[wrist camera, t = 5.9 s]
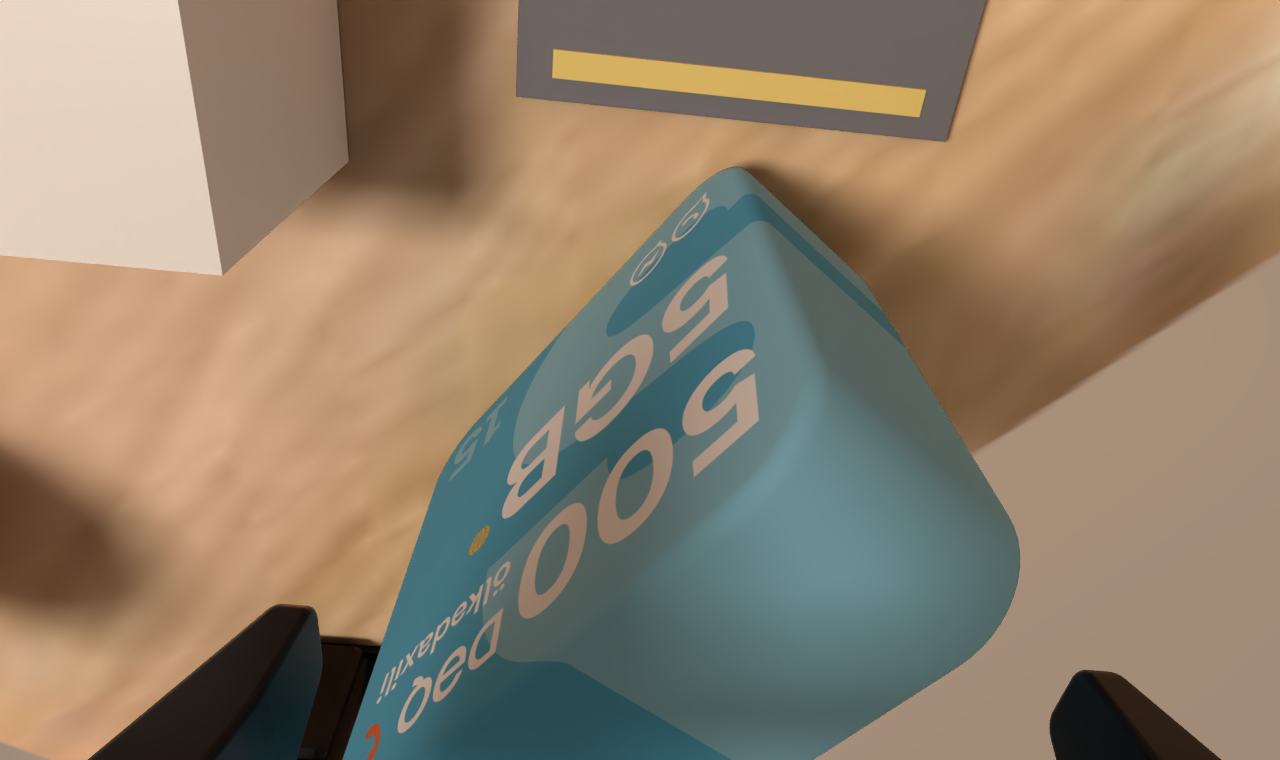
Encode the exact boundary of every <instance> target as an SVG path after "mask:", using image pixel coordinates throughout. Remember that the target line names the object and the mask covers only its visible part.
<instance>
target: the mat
mask: <svg viewBox="0 0 1280 760" xmlns="http://www.w3.org/2000/svg"><path fill="white" fill-rule="evenodd" d="M985 3H986V0H519V8H518V45H517V81H516V96H517V97H527V98H536V99H546V100H555V101H564V102H574V103H583V104H593V105H602V106H612V107H621V108H631V109H640V110H650V111H659V112H669V113H678V114H687V115H697V116H706V117H716V118H725V119H735V120H744V121H754V122H763V123H773V124H782V125H792V126H801V127H810V128H820V129H829V130H839V131H848V132H858V133H867V134H877V135H886V136H896V137H905V138H915V139H924V140H933V141H943V142H946V138H947V135H948V131H949V128H950V124H951V121H952V118H953V114H954V111H955V107H956V104H957V100H958V97H959V93H960V90H961V86H962V83H963V79H964V76H965V72H966V69H967V65H968V62H969V58H970V55H971V51H972V48H973V44H974V41H975V37H976V34H977V31H978V27H979V24H980V20H981V17H982V13H983V10H984V6H985Z"/></svg>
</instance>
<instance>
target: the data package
mask: <svg viewBox="0 0 1280 760" xmlns="http://www.w3.org/2000/svg"><path fill="white" fill-rule="evenodd" d="M1019 570H1020V550H1019V543H1018V538H1017V535H1016V532H1015V528H1014V526H1013V524H1012V522H1011V520H1010V518H1009V516H1008V514H1007V513H1006V511H1005V509H1004V508H1003V506H1002V504H1001V503H1000V501H999V499H998V498H997V496H996V495H995V493H994V491H993V490H992V488H991V486H990V485H989V483H988V482H987V480H986V478H985V477H984V475H983V473H982V472H981V470H980V468H979V467H978V465H977V463H976V462H975V460H974V459H973V457H972V455H971V454H970V452H969V450H968V449H967V447H966V445H965V444H964V442H963V441H962V439H961V437H960V436H959V434H958V432H957V431H956V429H955V428H954V426H953V424H952V423H951V421H950V419H949V418H948V416H947V414H946V413H945V411H944V410H943V408H942V406H941V405H940V403H939V401H938V400H937V398H936V396H935V395H934V393H933V392H932V390H931V388H930V387H929V385H928V383H927V382H926V380H925V378H924V377H923V375H922V374H921V372H920V370H919V369H918V367H917V365H916V364H915V362H914V360H913V359H912V357H911V356H910V354H909V352H908V351H907V349H906V347H905V346H904V344H903V343H902V341H901V339H900V338H899V336H898V334H897V333H896V331H895V329H894V328H893V326H892V325H891V323H890V321H889V320H888V318H887V316H886V315H885V313H884V311H883V310H882V308H881V307H880V305H879V303H878V302H877V300H876V298H875V297H874V295H873V293H872V292H871V290H870V289H869V287H868V285H867V284H866V282H865V281H864V280H863V279H862V278H861V277H860V276H859V275H858V274H857V273H856V272H855V271H854V270H852V269H851V268H850V267H849V266H848V265H847V264H846V263H845V262H844V261H843V260H842V259H841V258H840V257H839V256H838V255H836V254H835V253H834V252H833V251H832V250H831V249H830V248H829V247H828V246H827V245H826V244H825V243H824V242H823V241H822V240H820V239H819V238H818V237H817V236H816V235H815V234H814V233H813V232H812V231H811V230H810V229H809V228H808V227H807V226H806V225H804V224H803V223H802V222H801V221H800V220H799V219H798V218H797V217H796V216H795V215H794V214H793V213H792V212H791V211H790V210H788V209H787V208H786V207H785V206H784V205H783V204H782V203H781V202H780V201H779V200H778V199H777V198H776V197H775V196H774V195H772V194H771V193H770V192H769V191H768V190H767V189H766V188H765V187H764V186H763V185H762V184H761V183H760V182H759V181H758V180H756V179H755V178H754V177H753V176H752V175H751V174H750V173H749V172H748V171H747V170H745V169H743V168H740V167H731V168H727V169H724V170H722V171H720V172H718V173H716V174H715V175H713V176H712V177H710V178H709V179H708V180H706V181H705V182H704V183H703V184H701V185H700V186H699V187H698V188H697V189H696V190H695V191H694V192H693V193H691V194H690V195H689V196H688V197H687V199H686V200H685V201H684V202H683V203H682V204H681V205H680V206H679V207H678V208H677V209H676V210H675V211H674V212H673V213H672V214H671V215H670V217H669V218H668V219H667V220H666V221H665V222H664V223H663V224H662V225H661V226H660V227H659V228H658V229H657V230H656V231H655V233H654V234H653V235H652V236H651V237H650V238H649V239H648V240H647V241H646V242H645V243H644V244H643V245H642V246H641V247H640V248H639V250H638V251H637V252H636V253H635V254H634V255H633V256H632V257H631V258H630V259H629V260H628V261H627V262H626V263H625V264H624V266H623V267H622V268H621V269H620V270H619V271H618V272H617V273H616V274H615V275H614V276H613V277H612V278H611V279H610V280H609V282H608V283H607V284H606V285H605V286H604V287H603V288H602V289H601V290H600V291H599V292H598V293H597V294H596V295H595V296H594V297H593V299H592V300H591V301H590V302H589V303H588V304H587V305H586V306H585V307H584V308H583V309H582V310H581V311H580V312H579V313H578V315H577V316H576V317H575V318H574V319H573V320H572V321H571V322H570V323H569V324H568V325H567V326H566V327H565V328H564V329H563V330H562V332H561V333H560V334H559V335H558V336H557V337H556V338H555V339H554V340H553V341H552V342H551V343H550V344H549V345H548V346H547V348H546V349H545V350H544V351H543V352H542V353H541V354H540V355H539V356H538V357H537V358H536V359H535V360H534V361H533V362H532V364H531V365H530V366H529V367H528V368H527V369H526V370H525V371H524V372H523V373H522V374H521V375H520V376H519V377H518V378H517V379H516V381H515V382H514V383H513V384H512V385H511V386H510V387H509V388H508V389H507V390H506V391H505V392H504V393H503V394H502V395H501V397H500V398H499V399H498V400H497V401H496V402H495V403H494V404H493V405H492V406H491V407H490V408H489V409H488V410H487V411H486V412H485V414H484V415H483V416H482V417H481V418H480V419H479V420H478V421H477V422H476V423H475V424H474V425H473V427H472V428H471V429H470V430H469V431H468V433H467V434H466V435H465V436H464V438H463V439H462V440H461V442H460V443H459V445H458V446H457V447H456V449H455V450H454V452H453V453H452V455H451V457H450V458H449V460H448V462H447V463H446V465H445V467H444V469H443V471H442V473H441V475H440V477H439V479H438V481H437V484H436V487H435V490H434V493H433V496H432V499H431V501H430V504H429V507H428V510H427V513H426V516H425V519H424V522H423V525H422V528H421V531H420V534H419V537H418V540H417V543H416V545H415V548H414V551H413V554H412V557H411V560H410V563H409V566H408V569H407V572H406V575H405V578H404V581H403V584H402V587H401V590H400V592H399V595H398V598H397V601H396V604H395V607H394V610H393V613H392V616H391V619H390V622H389V625H388V628H387V631H386V634H385V636H384V639H383V642H382V645H381V648H380V651H379V654H378V657H377V660H376V663H375V666H374V669H373V672H372V675H371V678H370V680H369V683H368V686H367V689H366V692H365V695H364V698H363V701H362V704H361V707H360V710H359V713H358V716H357V719H356V722H355V725H354V727H353V730H352V733H351V736H350V739H349V742H348V745H347V748H346V751H345V754H344V757H343V760H814V759H815V758H817V757H818V756H820V755H821V754H823V753H825V752H826V751H828V750H829V749H831V748H832V747H834V746H835V745H837V744H839V743H840V742H842V741H843V740H845V739H846V738H848V737H849V736H851V735H853V734H854V733H856V732H857V731H859V730H860V729H862V728H863V727H865V726H867V725H868V724H870V723H871V722H873V721H874V720H876V719H878V718H879V717H881V716H882V715H884V714H885V713H887V712H888V711H890V710H891V709H893V708H895V707H896V706H898V705H899V704H901V703H902V702H904V701H906V700H907V699H909V698H910V697H912V696H913V695H915V694H916V693H918V692H920V691H921V690H923V689H924V688H926V687H927V686H929V685H930V684H932V683H934V682H935V681H937V680H938V679H940V678H941V677H943V676H945V675H946V674H948V673H949V672H951V671H952V670H954V669H955V668H957V667H959V666H960V665H961V664H963V663H964V662H965V661H967V660H968V659H969V658H971V657H972V656H973V655H974V654H975V653H976V652H977V651H978V650H980V649H981V648H982V647H983V646H984V644H985V643H986V642H987V641H988V640H989V638H991V637H992V635H993V634H994V632H995V631H996V630H997V628H998V627H999V625H1000V624H1001V622H1002V620H1003V619H1004V617H1005V615H1006V613H1007V611H1008V609H1009V607H1010V604H1011V602H1012V599H1013V597H1014V594H1015V590H1016V587H1017V583H1018V577H1019Z"/></svg>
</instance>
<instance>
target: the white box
mask: <svg viewBox="0 0 1280 760" xmlns="http://www.w3.org/2000/svg"><path fill="white" fill-rule="evenodd" d="M347 162H349V157H348V144H347V130H346V117H345V103H344V90H343V76H342V63H341V49H340V36H339V22H338V9H337V0H0V255H3V256H14V257H25V258H36V259H47V260H58V261H69V262H80V263H91V264H102V265H113V266H124V267H135V268H146V269H157V270H167V271H178V272H189V273H200V274H211V275H224V274H225V273H226V272H227V271H228V270H229V269H230V268H231V267H232V266H234V265H235V264H236V263H237V262H238V261H239V260H240V259H241V258H242V257H244V256H245V255H246V254H247V253H248V252H249V251H250V250H251V249H252V248H253V247H255V246H256V245H257V244H258V243H259V242H260V241H261V240H262V239H263V238H265V237H266V236H267V235H268V234H269V233H270V232H271V231H272V230H273V229H274V228H276V227H277V226H278V225H279V224H280V223H281V222H282V221H283V220H284V219H286V218H287V217H288V216H289V215H290V214H291V213H292V212H293V211H294V210H296V209H297V208H298V207H299V206H300V205H301V204H302V203H303V202H304V201H305V200H307V199H308V198H309V197H310V196H311V195H312V194H313V193H314V192H315V191H317V190H318V189H319V188H320V187H321V186H322V185H323V184H324V183H325V182H326V181H328V180H329V179H330V178H331V177H332V176H333V175H334V174H335V173H336V172H338V171H339V170H340V169H341V168H342V167H343V166H344V165H345V164H346V163H347Z"/></svg>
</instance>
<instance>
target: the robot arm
mask: <svg viewBox="0 0 1280 760" xmlns="http://www.w3.org/2000/svg"><path fill="white" fill-rule="evenodd" d="M380 648H381V646H367V645H352V644H337V643H322V642H320V634H319V626H318V618H317V614H316V611H315V610H314V609H313V608H312V607H309V606H302V605H290V604H277V605H275V606H273V607H271V608H269V609H268V610H267V611H265V612H264V613H263V614H262V615H261V616H259V617H258V618H257V619H256V620H255V621H253V622H252V623H251V624H250V625H249V626H247V627H246V628H245V629H244V630H243V631H241V632H240V633H239V634H238V635H237V636H235V637H234V638H233V639H232V640H231V641H230V642H228V643H227V644H226V645H225V646H224V647H222V648H221V649H220V650H219V651H218V652H216V653H215V654H214V655H213V656H212V657H210V658H209V659H208V660H207V661H206V662H204V663H203V664H202V665H201V666H200V667H198V668H197V669H196V670H195V671H194V672H192V673H191V674H190V675H189V676H188V677H186V678H185V679H184V680H183V681H182V682H180V683H179V684H178V685H177V686H176V687H174V688H173V689H172V690H171V691H170V692H168V693H167V694H166V695H165V696H164V697H162V698H161V699H160V700H159V701H158V702H156V703H155V704H154V705H153V706H152V707H150V708H149V709H148V710H147V711H146V712H144V713H143V714H142V715H141V716H140V717H138V718H137V719H136V720H135V721H134V722H132V723H131V724H130V725H129V726H128V727H126V728H125V729H124V730H123V731H122V732H120V733H119V734H118V735H117V736H116V737H114V738H113V739H112V740H111V741H110V742H108V743H107V744H106V745H105V746H104V747H102V748H101V749H100V750H99V751H98V752H96V753H95V754H94V755H93V756H92V757H90V758H89V759H88V760H343V757H344V754H345V751H346V748H347V745H348V742H349V739H350V736H351V733H352V730H353V727H354V725H355V722H356V719H357V716H358V713H359V710H360V707H361V704H362V701H363V698H364V695H365V692H366V689H367V686H368V683H369V680H370V678H371V675H372V672H373V669H374V666H375V663H376V660H377V657H378V654H379V651H380ZM1050 736H1051V741H1052V745H1053V748H1054V752H1055V756H1056V760H1221V759H1220V758H1218V757H1217V756H1216V755H1215V754H1214V753H1213V752H1211V751H1210V750H1209V749H1208V748H1207V747H1205V746H1204V745H1203V744H1202V743H1201V742H1199V741H1198V740H1197V739H1196V738H1195V737H1194V736H1192V735H1191V734H1190V733H1189V732H1188V731H1187V730H1185V729H1184V728H1183V727H1182V726H1181V725H1179V724H1178V723H1177V722H1176V721H1174V720H1173V719H1172V718H1171V717H1170V716H1169V715H1167V714H1166V713H1165V712H1164V711H1163V710H1162V709H1160V708H1159V707H1158V706H1157V705H1155V704H1154V703H1153V702H1152V701H1151V700H1150V699H1148V698H1147V697H1146V696H1145V695H1144V694H1142V693H1141V692H1140V691H1139V690H1138V689H1137V688H1135V687H1134V686H1133V685H1132V684H1131V683H1129V682H1128V681H1127V680H1126V679H1124V678H1123V677H1122V676H1120V675H1118V674H1116V673H1112V672H1105V671H1093V670H1082V671H1079V672H1077V673H1076V674H1075V675H1074V676H1073V677H1072V679H1071V681H1070V683H1069V684H1068V686H1067V688H1066V689H1065V691H1064V693H1063V695H1062V696H1061V698H1060V700H1059V702H1058V703H1057V705H1056V707H1055V709H1054V711H1053V712H1052V715H1051V719H1050Z"/></svg>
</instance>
